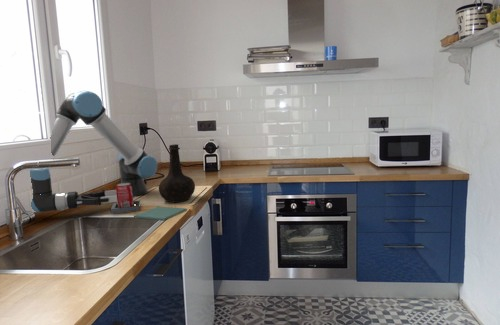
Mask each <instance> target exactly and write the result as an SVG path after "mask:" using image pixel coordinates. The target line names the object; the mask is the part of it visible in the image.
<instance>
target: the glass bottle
mask: <svg viewBox="0 0 500 325" xmlns="http://www.w3.org/2000/svg"><path fill="white" fill-rule="evenodd" d="M168 147H169V148H168V150H169V169H168V174H167V175H166V177H165V178H163V179H162V180H161V181H160V182H159V185H158V193H159V195H160V196H161V198H162V199H163V200H164V201H166V202H169V203H181V202H185V201H187V200H189V199H190V198H191V197H192V196H193V195H194V193H195V189H196V184H195V181H194V180H193V178H191V177H190V176H187V175H185V174H184V173H183V170H182V166H181V160H180V151H179V150H180V147H179V144H178V143H177V144H174V143H173V144H169V146H168ZM180 201H181V202H180Z"/></svg>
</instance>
